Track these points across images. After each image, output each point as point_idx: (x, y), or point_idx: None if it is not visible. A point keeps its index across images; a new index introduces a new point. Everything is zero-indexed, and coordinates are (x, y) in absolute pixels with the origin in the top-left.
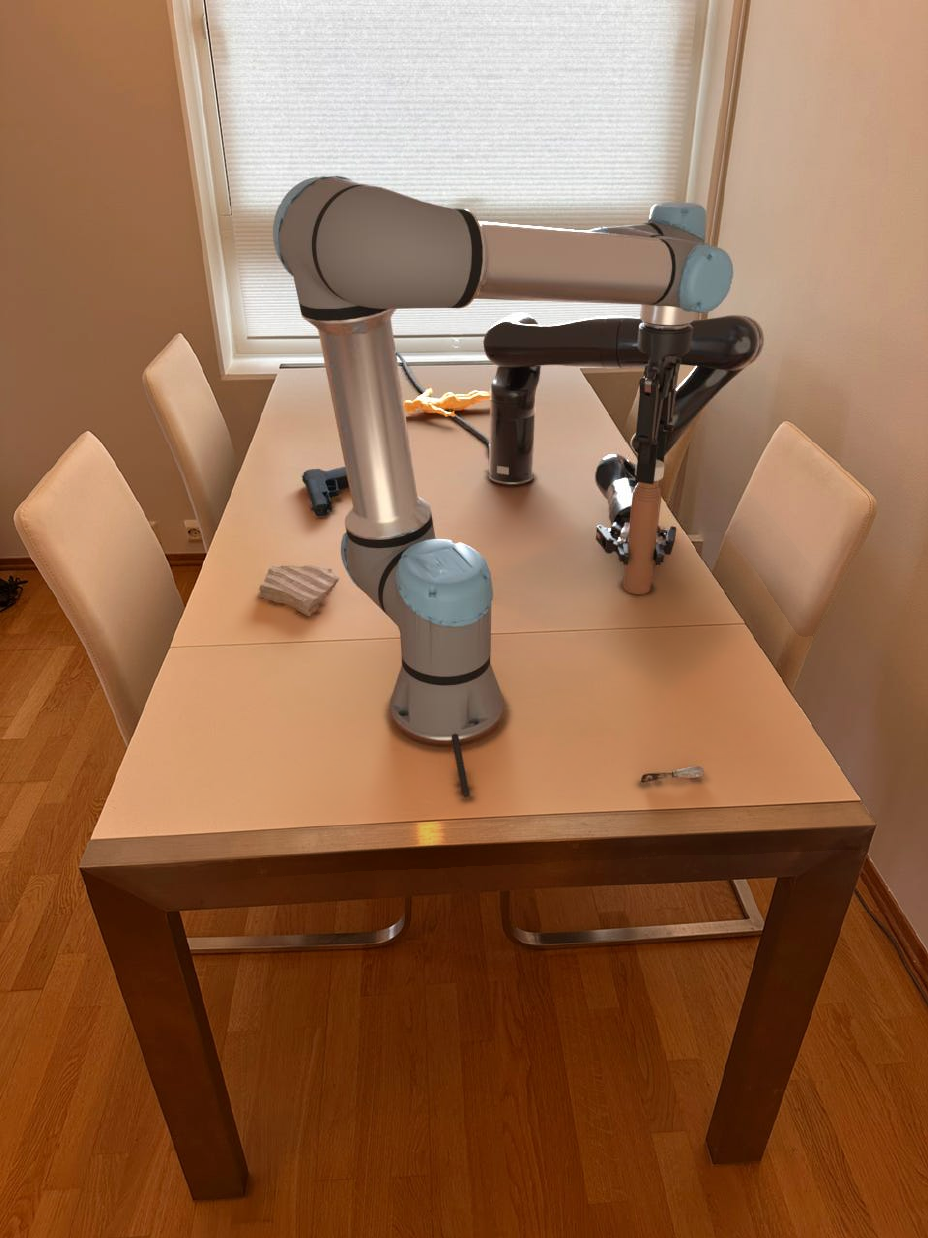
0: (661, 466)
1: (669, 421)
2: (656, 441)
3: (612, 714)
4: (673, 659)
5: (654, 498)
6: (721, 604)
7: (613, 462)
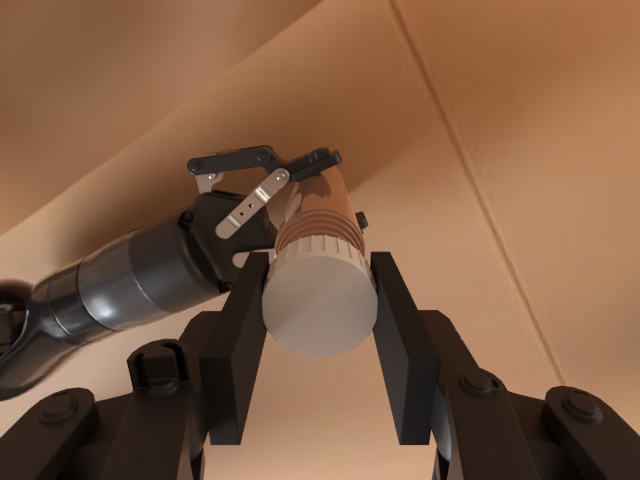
0: (331, 261)
1: (96, 404)
2: (471, 375)
3: None
4: (537, 49)
5: (351, 224)
6: (310, 11)
7: (3, 381)
